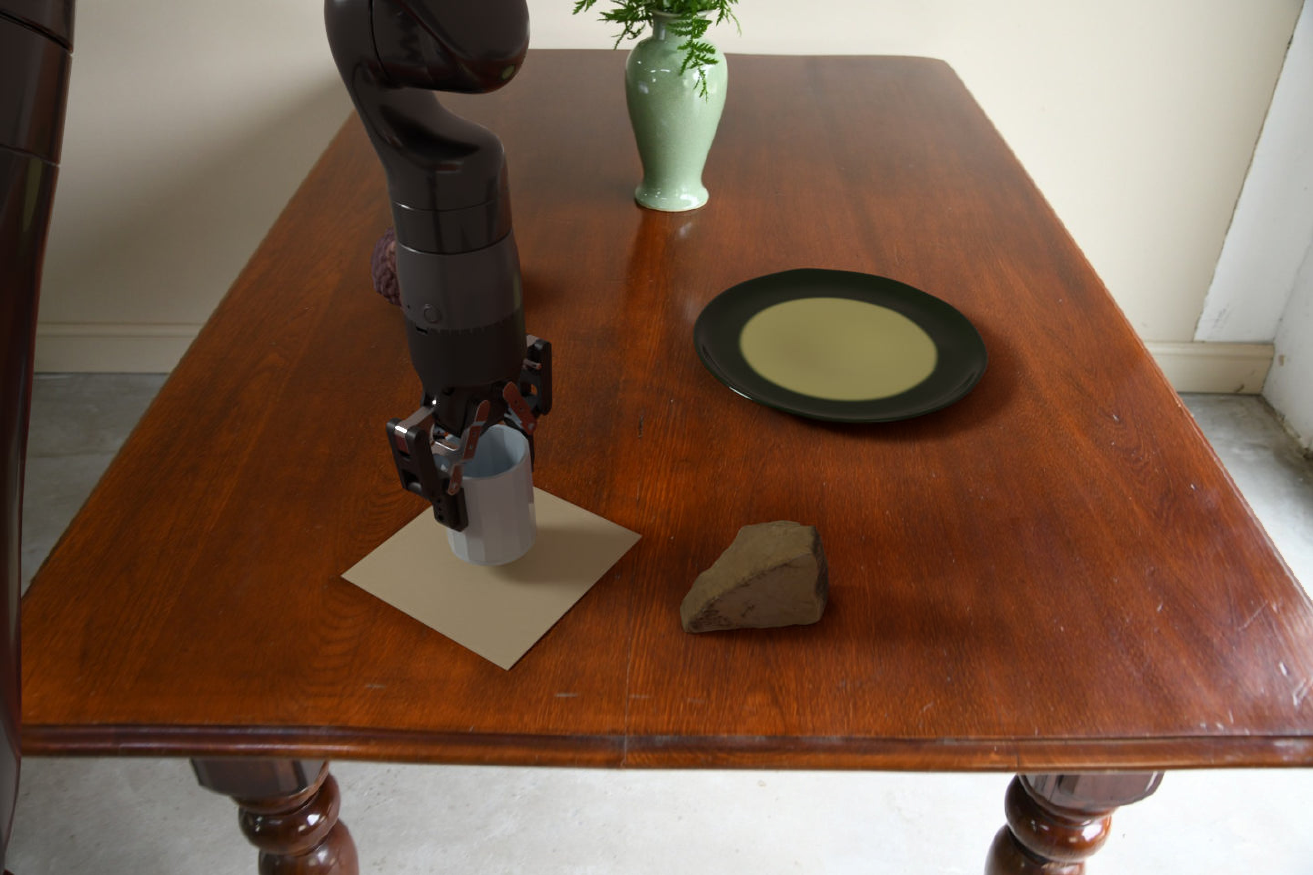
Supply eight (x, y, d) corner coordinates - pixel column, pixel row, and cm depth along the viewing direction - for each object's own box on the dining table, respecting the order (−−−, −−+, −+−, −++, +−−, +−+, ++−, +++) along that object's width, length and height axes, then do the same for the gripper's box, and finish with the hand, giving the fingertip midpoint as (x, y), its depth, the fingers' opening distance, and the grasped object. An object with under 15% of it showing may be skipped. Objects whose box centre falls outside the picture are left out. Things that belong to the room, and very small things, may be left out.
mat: (507, 670, 69) (507, 669, 69) (341, 576, 76) (340, 575, 76) (642, 536, 79) (642, 535, 79) (485, 465, 86) (485, 464, 86)
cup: (497, 579, 73) (486, 492, 68) (430, 544, 76) (415, 458, 71) (554, 528, 77) (548, 443, 72) (488, 496, 80) (478, 413, 75)
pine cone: (354, 274, 113) (387, 189, 111) (439, 306, 117) (472, 225, 115) (360, 310, 97) (398, 212, 96) (458, 346, 101) (496, 253, 99)
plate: (660, 305, 108) (660, 284, 107) (903, 274, 114) (907, 254, 112) (744, 464, 87) (746, 441, 85) (1039, 417, 92) (1046, 394, 91)
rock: (655, 638, 68) (805, 660, 65) (666, 509, 68) (816, 524, 65) (701, 617, 78) (832, 635, 75) (710, 505, 78) (841, 518, 75)
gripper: (492, 237, 70) (512, 431, 80) (332, 326, 61) (377, 534, 71) (579, 265, 67) (589, 465, 77) (425, 364, 58) (458, 577, 68)
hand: (487, 497), depth 74 cm, fingers closed on cup, 6 cm apart
